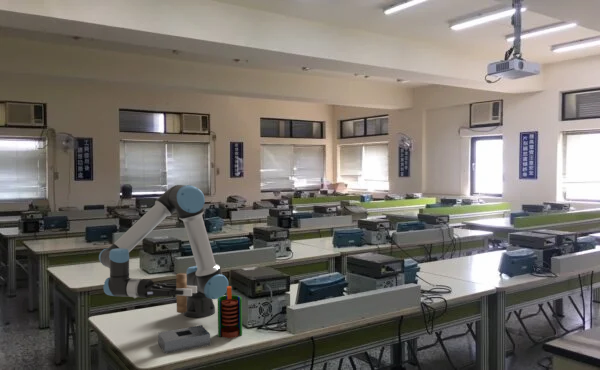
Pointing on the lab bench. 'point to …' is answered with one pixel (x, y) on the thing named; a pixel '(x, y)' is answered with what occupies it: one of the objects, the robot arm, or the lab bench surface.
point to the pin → (181, 300)
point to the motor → (229, 315)
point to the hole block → (183, 339)
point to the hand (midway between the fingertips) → (194, 291)
